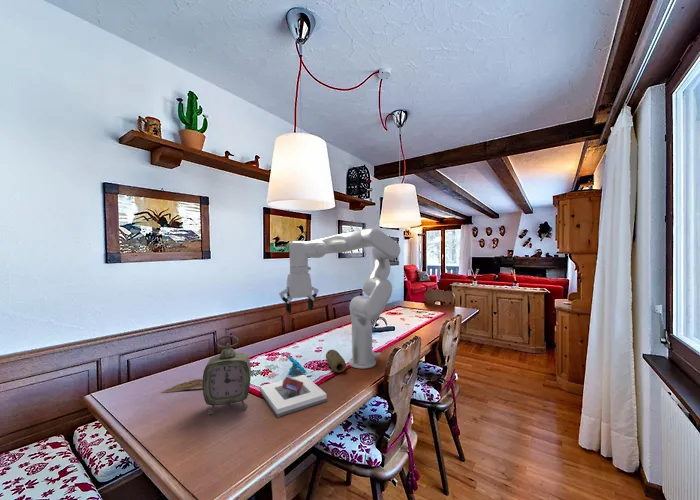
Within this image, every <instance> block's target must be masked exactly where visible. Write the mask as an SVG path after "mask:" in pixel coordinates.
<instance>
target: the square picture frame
mask: <svg viewBox="0 0 700 500" xmlns="http://www.w3.org/2000/svg"><path fill="white" fill-rule="evenodd" d="M298 376H299V377H298ZM290 378H291V379H293V378H294V379H295V380H296V379H297V381H298V380H299V381H301V382H303V385H302V388H301V391H300V394H299V393H297V392H296V393H295V392H294V391H292V392H290V390H288V389H287V390H286V389H284V388H282V384H283V380H284V379H281V380H277V381H273V382H270V383H266V384H263V385H260V386H259V393H260V392H261V393H260V395H261V394H262V395H261V396H262V398H263V399H264V400H265V402H266V403H267V404H268V406H269V408H270V409H271V410H272V412H273V413H274V415H275V416H276V417H277V418H279V417H282V416H285V415H288V414H292V413H294V412H297V411H300V410H304V409H307V408H311V407H312V406H316V405H318V404H321V403H325V402H328V398H327V397H328V394H327V393H326V392H325V390H323V389H322V388H321V387H319V386H318V385H317V384H315V382H314V381H312V380H311V379H310V378H308V377H307V375H305V374H301V375H296V376H292V377H290ZM287 392H288V393H287ZM286 393H287V394H286ZM293 393H294V394H293ZM289 394H290V395H291V396H290V395H289ZM288 395H289V396H288ZM292 395H293V396H292Z"/></svg>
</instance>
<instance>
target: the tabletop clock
mask: <svg viewBox="0 0 700 500" xmlns="http://www.w3.org/2000/svg"><path fill="white" fill-rule="evenodd" d="M227 338H234V339H235V340H236V343H234V344H230V343H226V344H225V345H220V344H219V342H220V340H223V339H227ZM237 344H239V338H238V337H237V336H235V335H231V334H228V335H227V334H226V335H223V336H221V337H219V338H218V339H217V341H216V345H217V346H218V348H220V349H221V348H222V350H221V352H220V354H216V355H215V356H212V357H210V358H209V360H208V362H207V363H206V365H205V366H204V367H205V368H204V370H203V375H202V379H203V385H202V386H203V388H202V394H203V395H202V396H203V399H204V403H205V404H206V405H209V406H211V407H210V409H209V410H208V411H207V414H208V415H209V416H211V415H213V413H214V408H215V406H226V405H227V406H231V405H232V404H236V403H239V402H241V405H242V406H241V408H242V410H247V408H248V404H245V401H244V400H246V399H248V396H249V394H250V393H249V392H250V388H251V387H250V384H251V380H252V379H251V378H252V367H251V366H252V365H251V359H250V357H249V355H248V354H247V353H245V352H244V353H243V352H236V351H235V349H234V347H236V346H237Z"/></svg>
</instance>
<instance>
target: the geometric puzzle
mask: <svg viewBox="0 0 700 500" xmlns="http://www.w3.org/2000/svg"><path fill="white" fill-rule="evenodd" d="M291 376H292V377H291ZM294 376H298V377H299V376H300V375H297V373H296V374H295V375H294ZM291 378H293V375H291V374H290V377H289V375H288V376H285V378H284V379H282V380H283V384H282V388H284V389H286V390H287V389H288V390H290V392H292V391H294V392H295V393H296V392H297V393H299V394H300V391H301V388H302V385H303V382H301V381H299V380H298V381H297V379H296V380H295V379H294V378H293V379H291ZM287 393H288V392H287ZM287 393H286V394H287ZM293 394H294V393H293ZM289 395H290V394H289ZM289 395H288V396H289ZM290 396H291V395H290ZM292 396H293V395H292Z"/></svg>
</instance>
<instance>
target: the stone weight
mask: <svg viewBox="0 0 700 500" xmlns="http://www.w3.org/2000/svg"><path fill="white" fill-rule="evenodd" d="M325 361H326V362H327V364H328V365H329V367H330V368H331V370H332V371H334V372H335V373H343V372H344V371H346V368H347V364H346V361H345V359H344V358H343V356H341V354H340V353H339V352H338V351H337V350H336V349H329V350H328V351H326V354H325Z"/></svg>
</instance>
